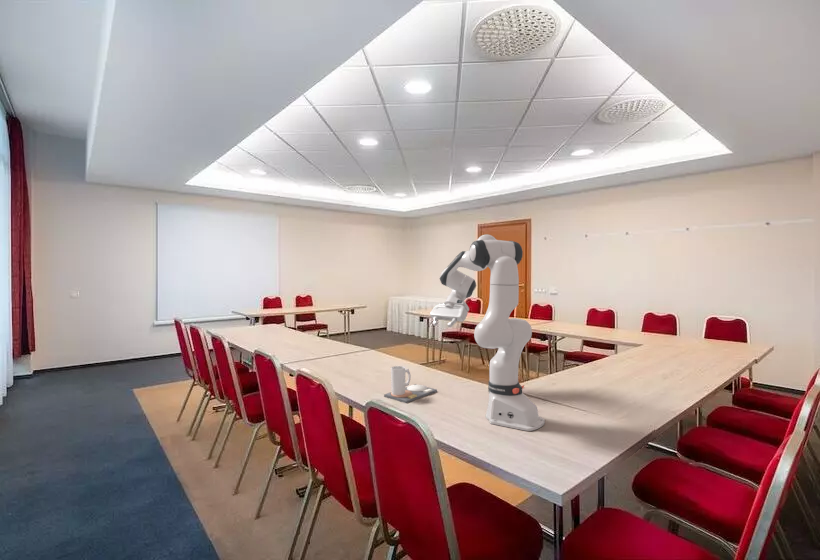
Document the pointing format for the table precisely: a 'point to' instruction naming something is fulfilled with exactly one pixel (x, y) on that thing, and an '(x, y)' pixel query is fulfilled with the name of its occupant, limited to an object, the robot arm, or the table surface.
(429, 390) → the grey food tray
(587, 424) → the table surface
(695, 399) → the table surface
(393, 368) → the mug
